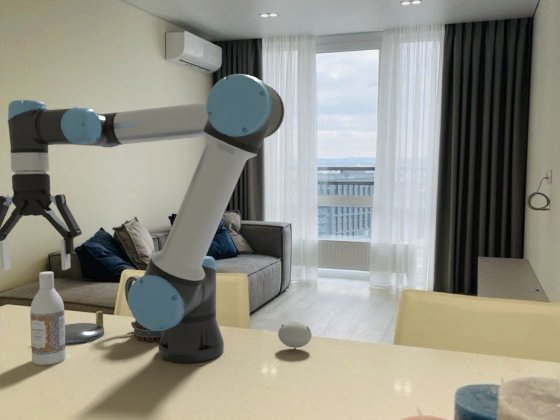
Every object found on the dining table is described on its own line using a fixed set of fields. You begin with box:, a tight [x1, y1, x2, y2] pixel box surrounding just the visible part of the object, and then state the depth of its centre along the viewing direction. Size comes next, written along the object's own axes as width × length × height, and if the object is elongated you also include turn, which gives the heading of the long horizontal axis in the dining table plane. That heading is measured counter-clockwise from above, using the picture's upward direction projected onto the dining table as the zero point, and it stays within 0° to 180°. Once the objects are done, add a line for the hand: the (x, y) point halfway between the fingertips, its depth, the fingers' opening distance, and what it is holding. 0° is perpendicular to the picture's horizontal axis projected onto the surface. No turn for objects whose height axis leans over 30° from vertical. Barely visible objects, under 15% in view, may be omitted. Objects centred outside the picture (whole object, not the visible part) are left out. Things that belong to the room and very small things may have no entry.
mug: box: [124, 275, 163, 343], centre depth 137 cm, size 16×11×15 cm
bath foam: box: [29, 271, 67, 366], centre depth 118 cm, size 7×7×20 cm
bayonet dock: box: [65, 310, 105, 346], centre depth 136 cm, size 14×14×5 cm
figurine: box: [277, 321, 313, 351], centre depth 126 cm, size 8×6×7 cm
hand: (36, 269), depth 117 cm, fingers open, 13 cm apart
